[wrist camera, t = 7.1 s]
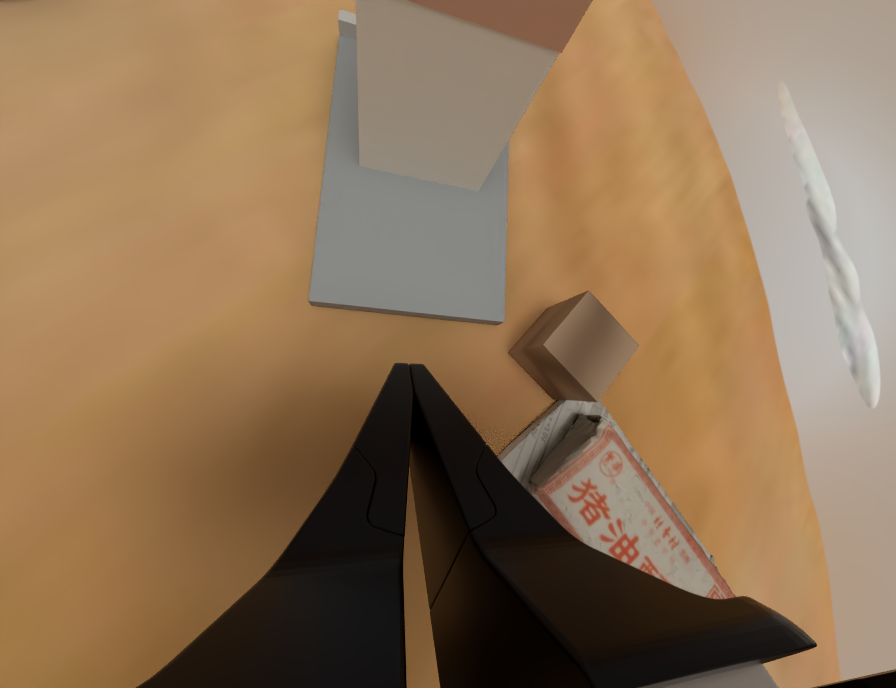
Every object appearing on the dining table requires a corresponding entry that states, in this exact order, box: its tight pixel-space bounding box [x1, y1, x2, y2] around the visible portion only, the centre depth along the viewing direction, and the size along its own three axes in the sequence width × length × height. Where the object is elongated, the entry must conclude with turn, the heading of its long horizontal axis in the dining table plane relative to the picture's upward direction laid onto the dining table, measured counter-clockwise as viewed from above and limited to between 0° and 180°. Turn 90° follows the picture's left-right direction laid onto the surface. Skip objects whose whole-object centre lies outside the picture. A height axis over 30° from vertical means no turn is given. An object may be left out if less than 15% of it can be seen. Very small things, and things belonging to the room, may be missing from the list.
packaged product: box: [498, 400, 736, 599], centre depth 22 cm, size 18×5×10 cm
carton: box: [356, 0, 592, 191], centre depth 16 cm, size 7×9×14 cm
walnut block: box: [508, 291, 640, 402], centre depth 23 cm, size 5×5×5 cm
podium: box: [309, 9, 509, 325], centre depth 23 cm, size 20×13×2 cm, turn 177°
